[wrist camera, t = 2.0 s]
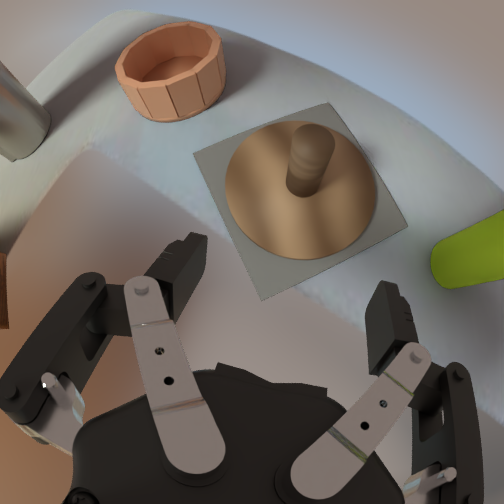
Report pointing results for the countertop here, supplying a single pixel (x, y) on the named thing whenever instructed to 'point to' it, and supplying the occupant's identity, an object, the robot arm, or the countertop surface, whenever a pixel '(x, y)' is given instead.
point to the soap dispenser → (471, 255)
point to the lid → (299, 190)
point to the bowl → (173, 71)
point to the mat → (275, 267)
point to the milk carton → (3, 293)
